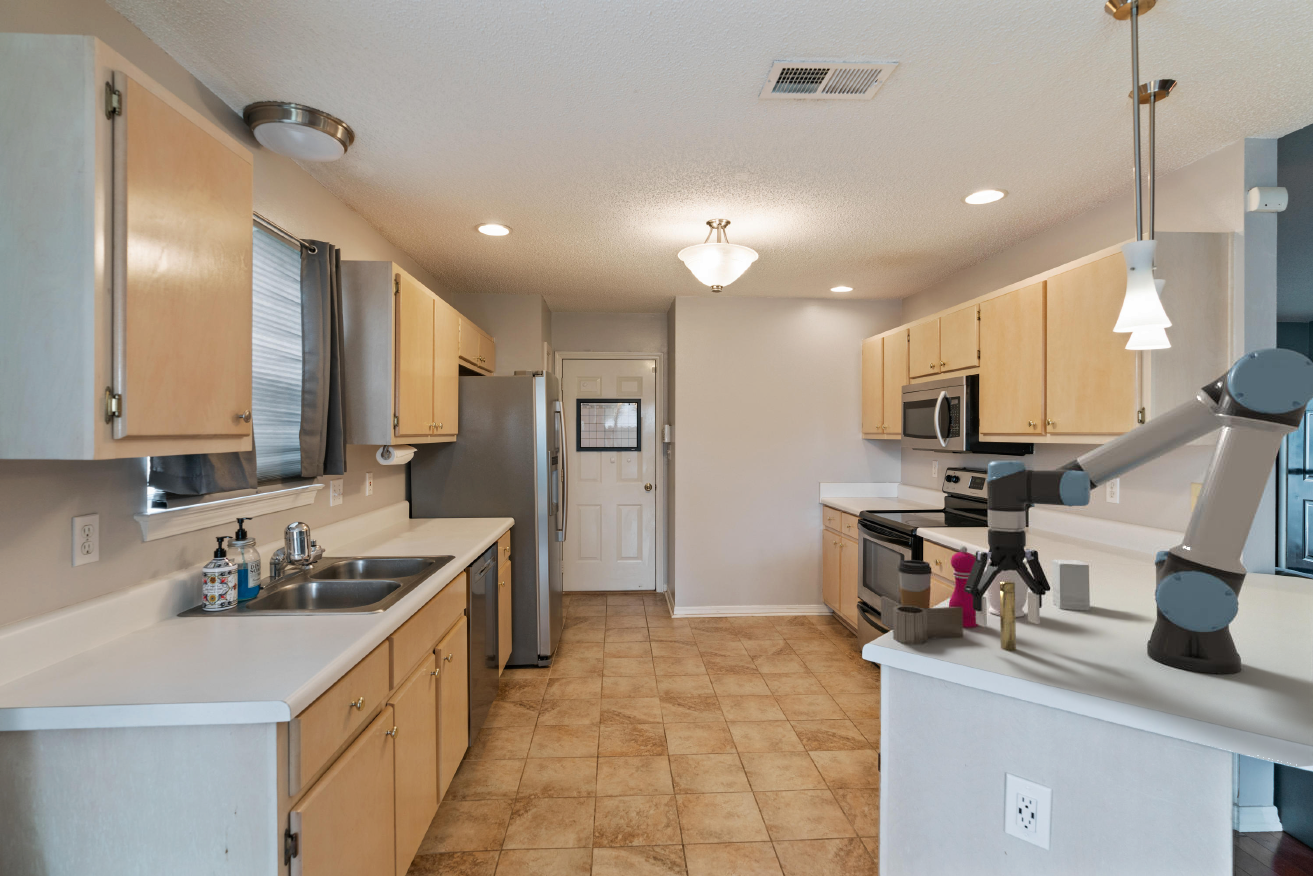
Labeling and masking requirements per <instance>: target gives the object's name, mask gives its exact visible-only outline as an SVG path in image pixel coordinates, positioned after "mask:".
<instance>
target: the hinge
mask: <svg viewBox="0 0 1313 876" xmlns="http://www.w3.org/2000/svg"><path fill="white" fill-rule="evenodd" d="M880 624H882V625H883V626H885V627H886V628H888V629H890V630H892V633H893V637H892V639H893V640H895V641H896V642H899V643H901V644H907V645H908V644H909V645H924V644H926V643H928V640H931V639H932V640H933V639H949V638H950V639H951V638H963V637H964V627H963V608H962V607H949V606H947V607H945V606H944V607H943V606H942V607H929V608H924V609H923V608H920V607H915V606H903V605H901V603H900V602H897V601H895V600H893V599H891V598H890V597H889V598H888V597H886V596H884V595H883V596H880Z"/></svg>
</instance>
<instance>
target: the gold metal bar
mask: <svg viewBox="0 0 1313 876" xmlns="http://www.w3.org/2000/svg"><path fill="white" fill-rule="evenodd" d="M999 617H1000V619H999V621H1000V626H999V627H1000V649H1001V650H1004V651H1008V652H1009V651H1010V652H1013V651H1016V650H1017V638H1016V637H1017V636H1016V635H1017V633H1016V630H1017V629H1016V628H1017V627H1016V622H1017V621H1016V617H1015V583H1014V582H1011V581H1000V616H999Z"/></svg>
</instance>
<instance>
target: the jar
mask: <svg viewBox="0 0 1313 876" xmlns="http://www.w3.org/2000/svg"><path fill="white" fill-rule="evenodd" d="M990 561H991V560H990V559H989V561H987V565H988V564H989V562H990ZM1023 563H1024V564H1025V565H1026V566H1027V565H1028V563H1027V560H1026V558H1024V560H1023ZM987 565H986V567H987ZM994 567H995V566H994ZM986 569H987V568H985V570H984V572H985V571H986ZM1000 581H1011V582H1014V583H1015V618H1019V617H1023V616H1025V611H1024V610H1023V608H1024V607H1025V605H1026V602H1027V600H1028V592H1029V587H1028V586H1027V584H1026V583H1025V582H1024V580H1023V579H1022V578H1021V576H1020V575H1019V574H1018V572H1017V571H1016V570H1015V571H1013V570H1008V571H1001V573H999V574H997V576H996V577H995V579H994V580H993V582H992V583H991V585H990V586H989V588H988V589H987V590H986V592H985V595H986V600H987V601H988V604H989V605H990V607H989V609H988V612H989V613H990V614H992V615H996V616H999V617H1000Z"/></svg>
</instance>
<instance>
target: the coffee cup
mask: <svg viewBox="0 0 1313 876" xmlns="http://www.w3.org/2000/svg"><path fill="white" fill-rule="evenodd" d="M897 567H898V569H897V571H898V576H899V577H898V579H899V593H900V594H899V595H900V604H901V605H903V606H915V607H920V608H923V609H924V608H931V607H930V604H931V581H932V580H931V578H932V574H933V573H932V572H933V571H932V567H931V565H930V562H928V561H924V560H915V559H907V560H900V561H899V565H898V566H897Z"/></svg>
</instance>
